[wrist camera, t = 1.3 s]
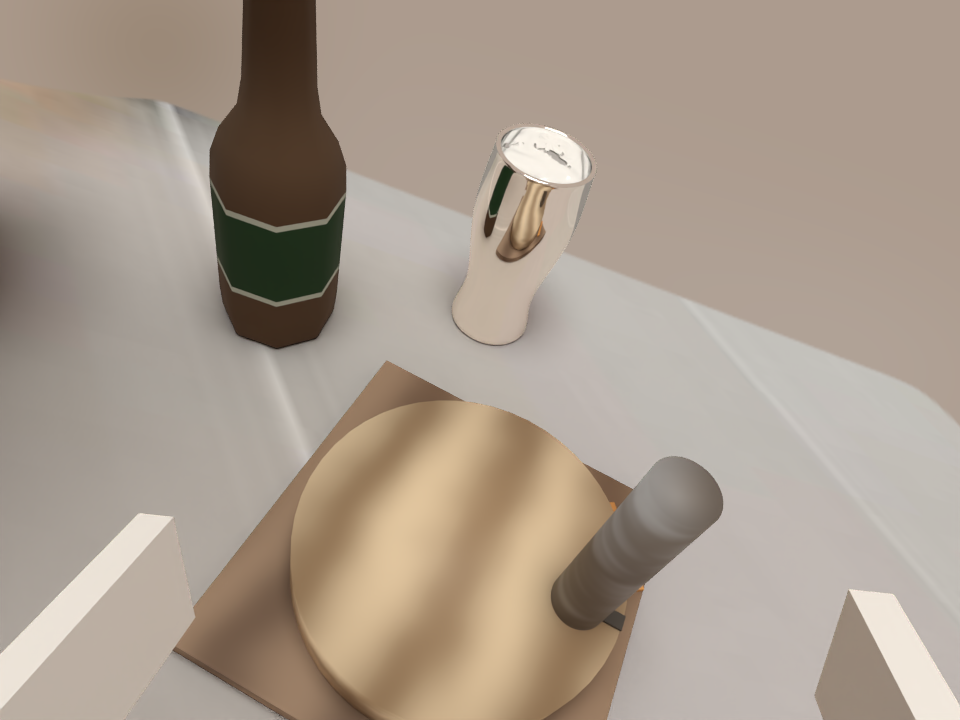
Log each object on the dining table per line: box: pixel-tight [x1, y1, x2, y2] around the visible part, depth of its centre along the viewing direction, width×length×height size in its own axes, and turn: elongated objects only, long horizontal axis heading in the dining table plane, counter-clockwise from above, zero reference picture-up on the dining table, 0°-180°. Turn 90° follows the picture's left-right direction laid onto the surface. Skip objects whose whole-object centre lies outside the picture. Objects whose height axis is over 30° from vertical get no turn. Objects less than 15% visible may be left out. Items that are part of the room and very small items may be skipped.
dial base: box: [173, 361, 645, 720], centre depth 37 cm, size 21×21×2 cm
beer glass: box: [452, 123, 597, 345], centre depth 46 cm, size 7×7×15 cm
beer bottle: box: [210, 0, 346, 348], centre depth 38 cm, size 8×8×24 cm
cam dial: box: [290, 400, 723, 720], centre depth 31 cm, size 18×18×15 cm
